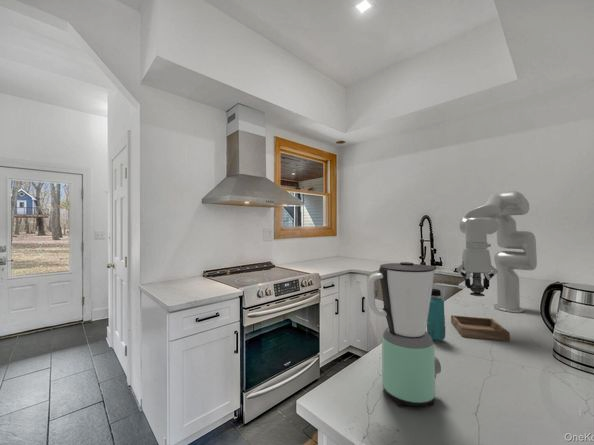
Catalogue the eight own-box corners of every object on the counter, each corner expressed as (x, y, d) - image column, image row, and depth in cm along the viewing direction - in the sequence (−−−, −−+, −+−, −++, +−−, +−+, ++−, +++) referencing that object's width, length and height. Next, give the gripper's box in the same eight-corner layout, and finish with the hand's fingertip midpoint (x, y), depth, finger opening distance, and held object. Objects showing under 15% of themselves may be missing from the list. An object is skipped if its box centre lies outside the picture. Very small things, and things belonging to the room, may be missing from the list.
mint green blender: (423, 378, 77) (421, 259, 78) (455, 409, 64) (452, 266, 65) (360, 382, 76) (359, 260, 76) (380, 415, 62) (378, 267, 63)
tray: (451, 322, 123) (451, 315, 123) (492, 326, 118) (492, 318, 118) (461, 336, 107) (461, 328, 107) (509, 341, 102) (509, 332, 102)
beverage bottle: (449, 343, 100) (448, 291, 101) (431, 343, 101) (430, 291, 101) (440, 336, 107) (439, 287, 107) (423, 336, 107) (422, 287, 108)
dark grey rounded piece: (488, 296, 109) (487, 268, 110) (472, 296, 111) (472, 267, 111) (481, 293, 115) (480, 265, 115) (466, 292, 116) (466, 265, 117)
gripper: (495, 246, 114) (496, 287, 114) (451, 245, 119) (452, 285, 119) (503, 247, 107) (504, 291, 107) (456, 246, 112) (456, 288, 112)
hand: (477, 287), depth 113 cm, fingers closed on dark grey rounded piece, 5 cm apart
